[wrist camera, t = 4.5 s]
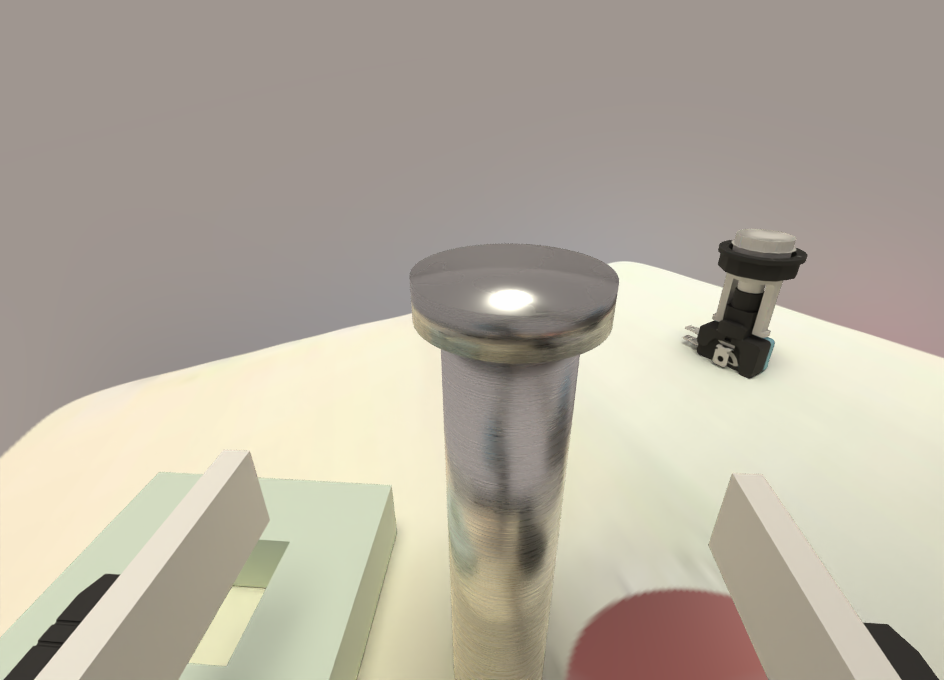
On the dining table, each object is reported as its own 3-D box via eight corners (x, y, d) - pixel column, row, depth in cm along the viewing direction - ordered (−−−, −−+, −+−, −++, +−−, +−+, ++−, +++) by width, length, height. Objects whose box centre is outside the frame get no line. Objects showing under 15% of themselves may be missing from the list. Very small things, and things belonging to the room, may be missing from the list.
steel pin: (554, 611, 19) (600, 245, 12) (564, 746, 15) (642, 316, 8) (445, 603, 19) (428, 242, 12) (428, 732, 15) (386, 309, 8)
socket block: (396, 532, 22) (391, 485, 21) (303, 873, 12) (281, 827, 11) (178, 517, 23) (159, 471, 22) (-71, 825, 13) (-136, 778, 12)
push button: (664, 350, 38) (690, 228, 33) (702, 334, 41) (731, 219, 36) (744, 387, 33) (786, 250, 28) (782, 366, 36) (827, 237, 31)
